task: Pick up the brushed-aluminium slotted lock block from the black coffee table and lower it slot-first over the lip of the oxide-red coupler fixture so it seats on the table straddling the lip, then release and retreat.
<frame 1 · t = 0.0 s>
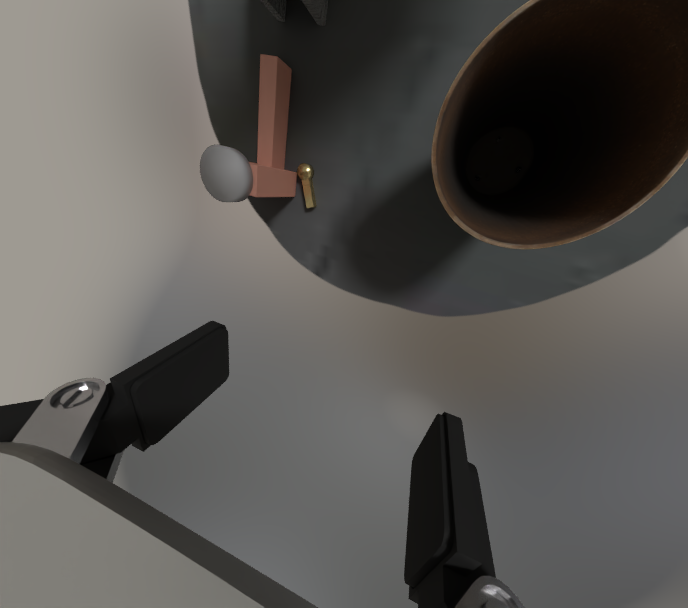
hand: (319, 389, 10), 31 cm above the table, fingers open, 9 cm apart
brass key: (310, 190, 38), on the table
plant pot: (494, 163, 30), on the table
coupler: (280, 121, 36), on the table
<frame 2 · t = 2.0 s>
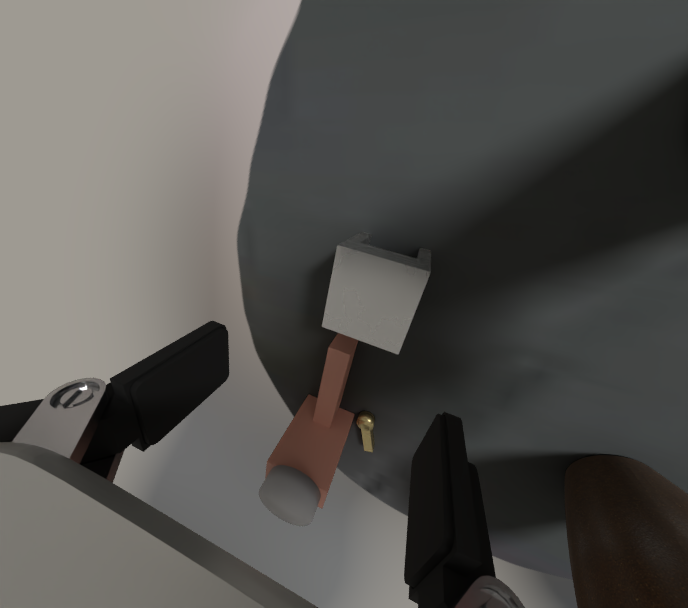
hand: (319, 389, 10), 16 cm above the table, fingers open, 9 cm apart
brass key: (368, 430, 33), on the table
plant pot: (605, 477, 25), on the table
lock block: (385, 275, 24), on the table
coupler: (339, 372, 31), on the table
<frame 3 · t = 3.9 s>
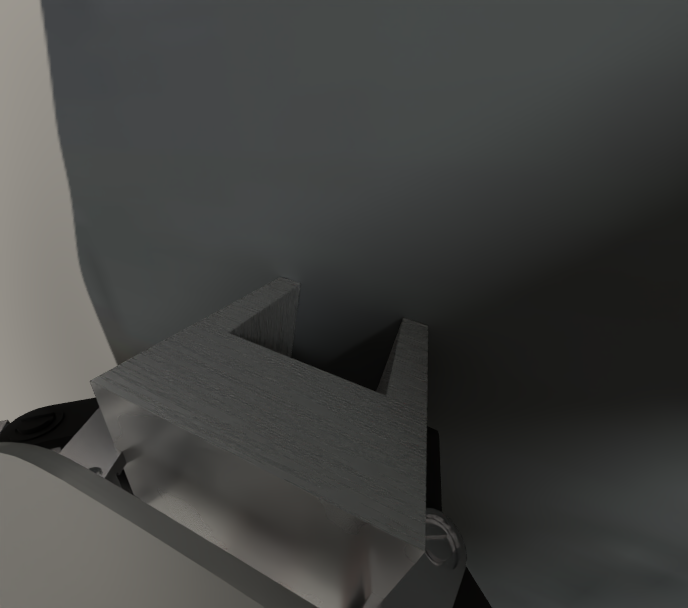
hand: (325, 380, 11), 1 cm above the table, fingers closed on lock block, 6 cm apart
lock block: (334, 362, 12), on the table, touching gripper
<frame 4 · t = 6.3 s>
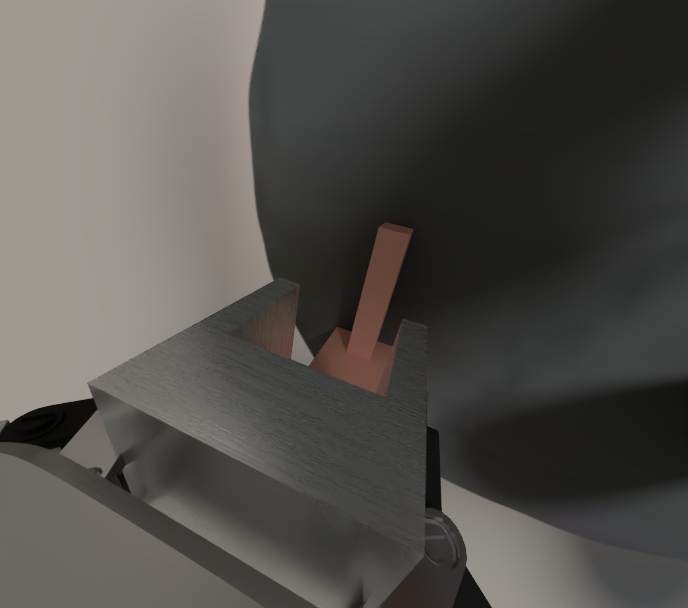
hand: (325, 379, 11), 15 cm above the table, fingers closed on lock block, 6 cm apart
lock block: (334, 363, 12), point 13 cm above the table, touching gripper
coupler: (381, 288, 24), on the table
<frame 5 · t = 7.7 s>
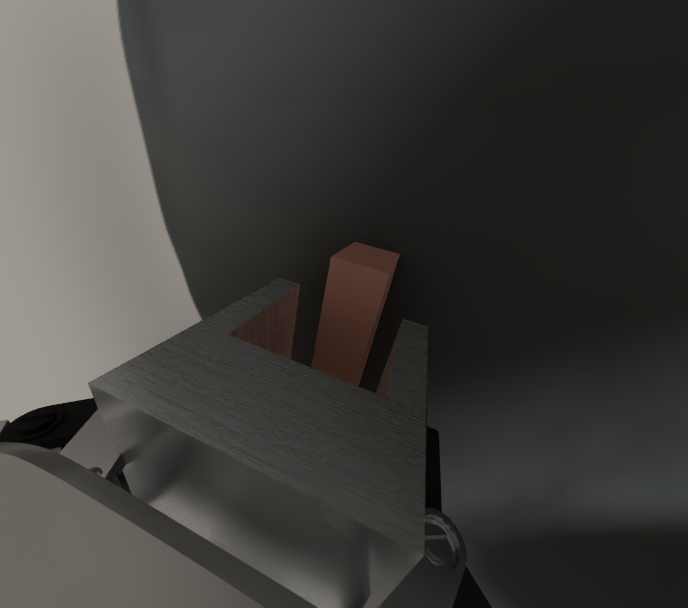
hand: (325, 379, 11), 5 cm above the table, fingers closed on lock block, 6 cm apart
lock block: (334, 363, 12), point 3 cm above the table, touching gripper
coupler: (352, 341, 15), on the table
when the fingers open (2 cm above the table, at t = 8.7 s): lock block stays where it is, resting in coupler.
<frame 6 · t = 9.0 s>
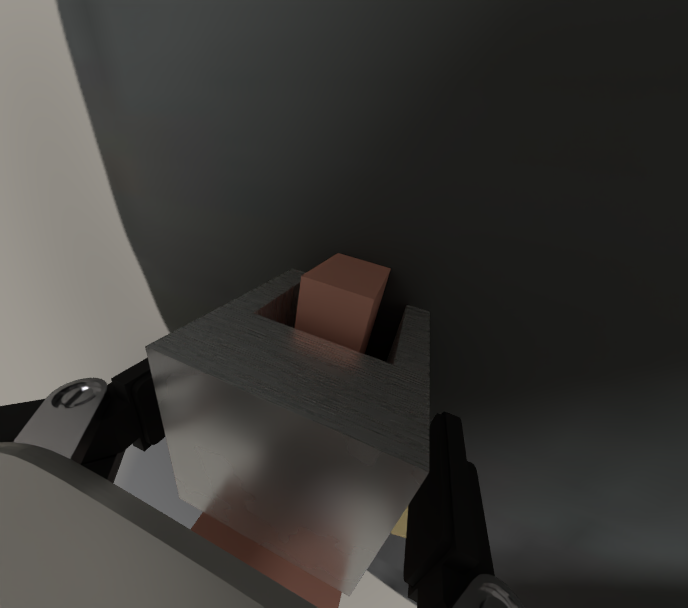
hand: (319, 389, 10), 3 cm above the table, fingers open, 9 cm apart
brass key: (400, 491, 16), on the table
lock block: (342, 348, 13), resting in coupler
coupler: (337, 365, 13), on the table
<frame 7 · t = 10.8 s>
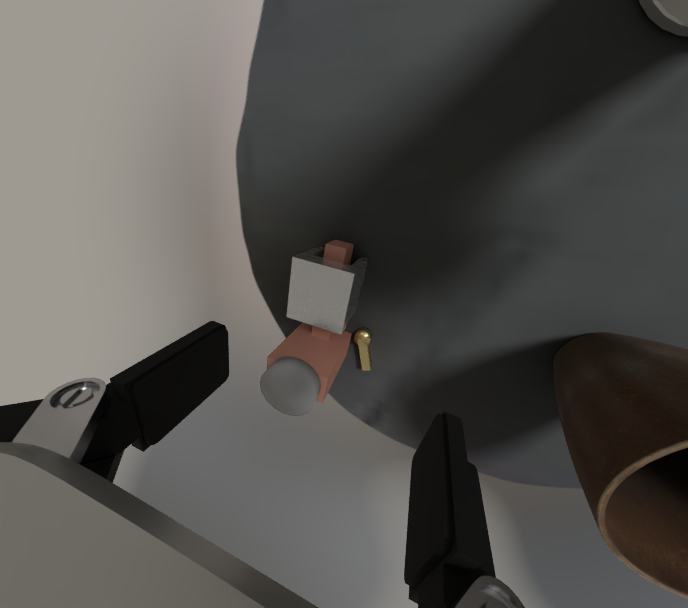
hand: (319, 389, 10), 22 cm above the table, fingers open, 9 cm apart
brass key: (365, 350, 34), on the table
plant pot: (590, 360, 27), on the table
lock block: (338, 279, 32), resting in coupler
coupler: (336, 287, 32), on the table
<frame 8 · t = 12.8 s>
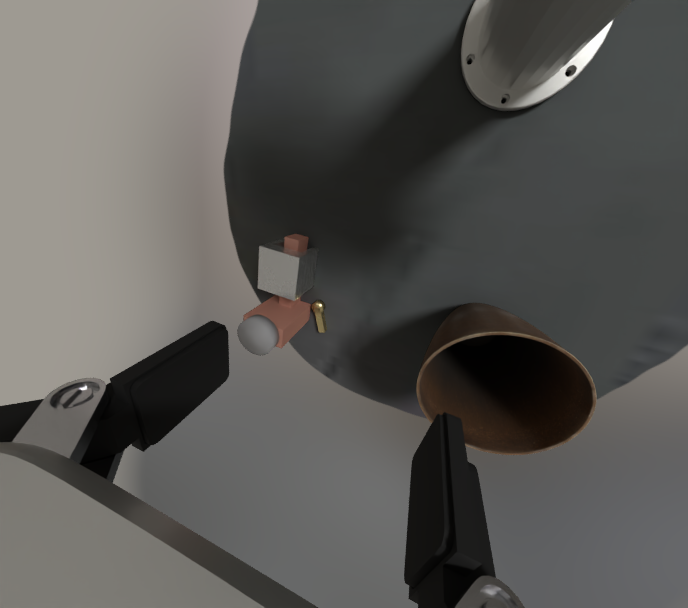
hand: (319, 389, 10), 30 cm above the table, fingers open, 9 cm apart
brass key: (321, 317, 46), on the table
plant pot: (471, 323, 38), on the table
lock block: (299, 262, 43), resting in coupler
coupler: (298, 269, 43), on the table
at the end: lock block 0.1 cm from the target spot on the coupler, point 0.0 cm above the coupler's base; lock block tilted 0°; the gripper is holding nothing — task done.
